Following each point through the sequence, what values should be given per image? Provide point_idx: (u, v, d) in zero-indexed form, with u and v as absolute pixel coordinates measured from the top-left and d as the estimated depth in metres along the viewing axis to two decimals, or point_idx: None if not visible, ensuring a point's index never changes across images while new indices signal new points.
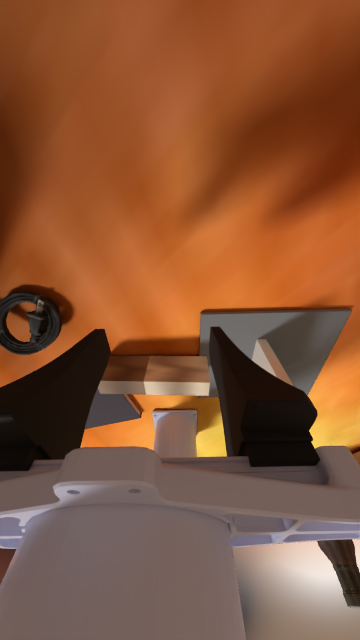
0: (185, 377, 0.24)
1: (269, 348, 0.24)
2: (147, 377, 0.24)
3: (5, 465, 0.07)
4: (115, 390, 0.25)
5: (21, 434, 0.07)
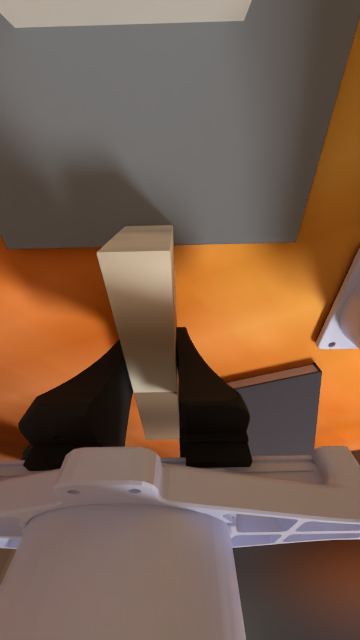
0: None
1: None
2: None
3: None
4: (168, 425, 0.14)
5: (88, 433, 0.07)
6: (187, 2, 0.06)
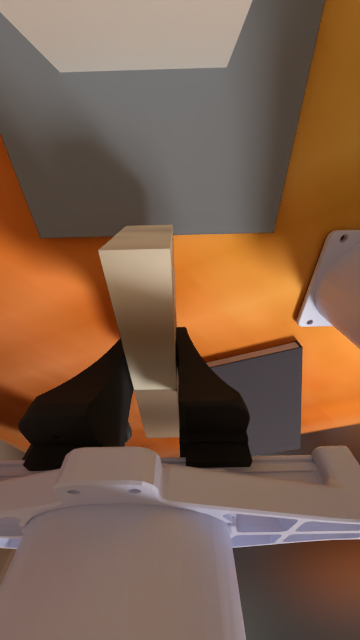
0: None
1: None
2: None
3: None
4: (168, 422, 0.14)
5: (88, 433, 0.07)
6: (185, 58, 0.09)
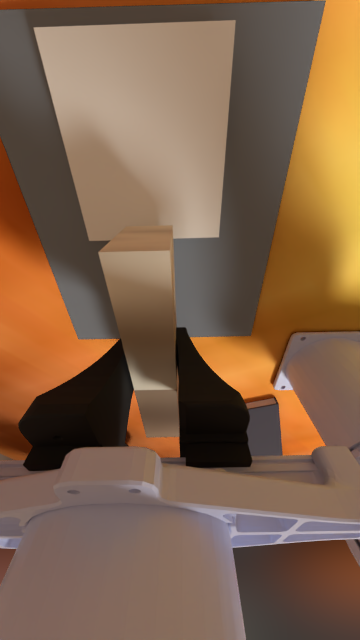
0: None
1: None
2: None
3: None
4: (168, 422, 0.14)
5: (88, 433, 0.07)
6: (186, 222, 0.12)
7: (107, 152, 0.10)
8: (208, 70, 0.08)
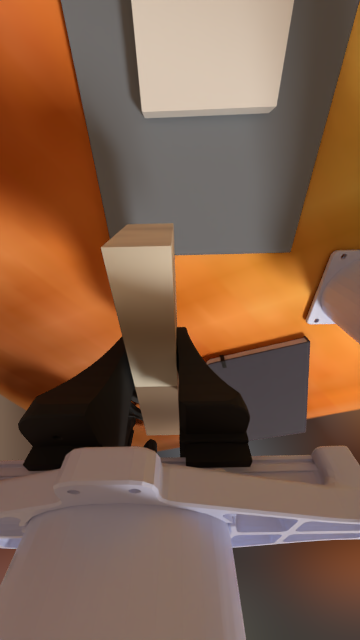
0: None
1: None
2: None
3: None
4: (168, 420, 0.14)
5: (88, 433, 0.07)
6: (244, 85, 0.11)
7: None
8: None
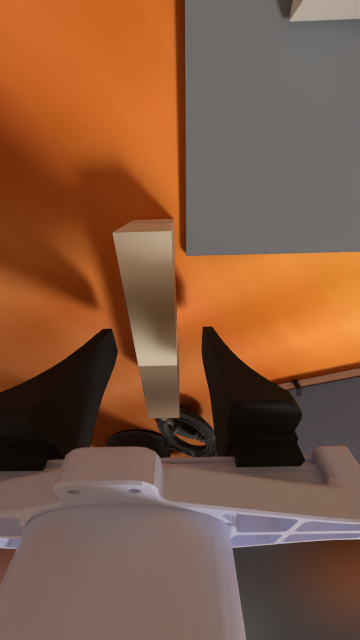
0: None
1: None
2: None
3: (21, 464, 0.07)
4: (169, 401, 0.15)
5: (36, 434, 0.07)
6: None
7: None
8: None
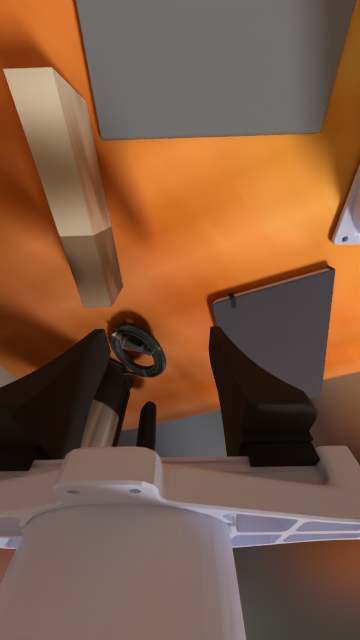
0: None
1: None
2: None
3: (6, 465, 0.07)
4: (97, 284, 0.16)
5: (21, 434, 0.07)
6: None
7: None
8: None
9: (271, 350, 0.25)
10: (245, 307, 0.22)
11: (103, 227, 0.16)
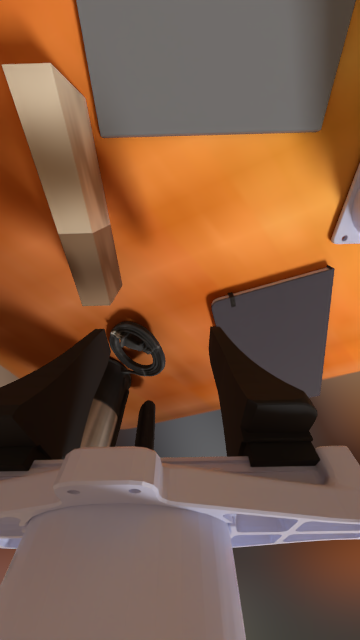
0: None
1: None
2: None
3: (6, 465, 0.07)
4: (96, 282, 0.16)
5: (21, 434, 0.07)
6: None
7: None
8: None
9: (270, 350, 0.25)
10: (244, 306, 0.22)
11: (102, 225, 0.16)
